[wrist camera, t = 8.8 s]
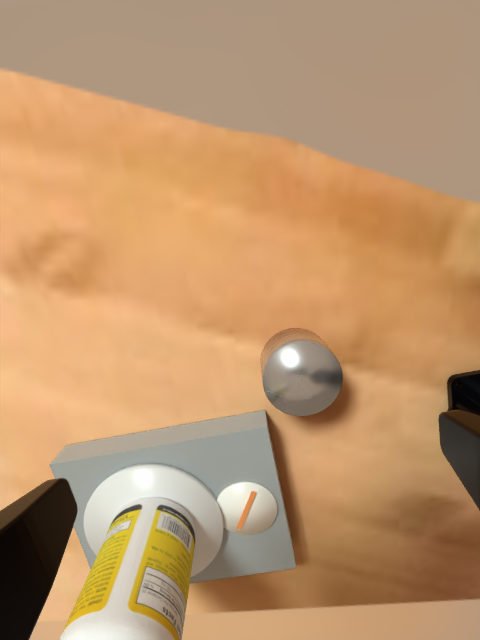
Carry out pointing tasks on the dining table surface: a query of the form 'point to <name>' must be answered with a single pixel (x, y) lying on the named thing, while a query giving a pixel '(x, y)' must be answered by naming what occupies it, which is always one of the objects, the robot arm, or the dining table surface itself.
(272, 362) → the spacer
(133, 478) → the scale
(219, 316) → the dining table surface
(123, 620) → the supplement bottle
